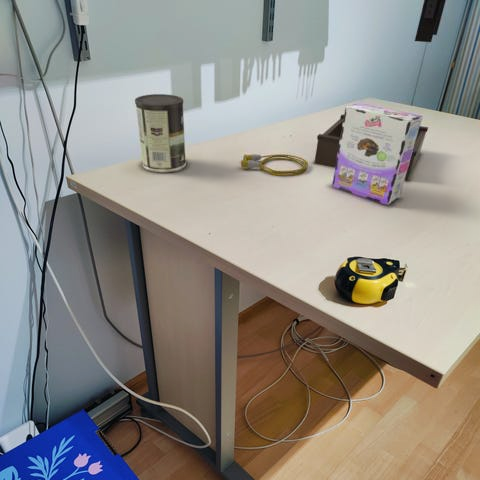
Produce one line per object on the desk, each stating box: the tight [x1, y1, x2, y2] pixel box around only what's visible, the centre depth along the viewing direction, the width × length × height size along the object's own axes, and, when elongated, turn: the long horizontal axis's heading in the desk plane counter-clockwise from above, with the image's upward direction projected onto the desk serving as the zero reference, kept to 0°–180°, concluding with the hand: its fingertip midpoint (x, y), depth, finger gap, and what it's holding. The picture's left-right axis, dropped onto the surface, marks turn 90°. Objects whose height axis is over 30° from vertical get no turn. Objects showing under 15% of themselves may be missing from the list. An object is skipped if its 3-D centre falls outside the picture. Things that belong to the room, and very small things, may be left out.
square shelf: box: [314, 113, 429, 182], centre depth 106 cm, size 23×23×7 cm
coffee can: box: [134, 93, 187, 173], centre depth 95 cm, size 10×10×14 cm
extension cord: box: [240, 153, 309, 177], centre depth 101 cm, size 12×16×2 cm
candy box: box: [331, 102, 423, 206], centre depth 86 cm, size 14×6×16 cm, turn 47°
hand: (426, 38), depth 78 cm, fingers open, 13 cm apart
